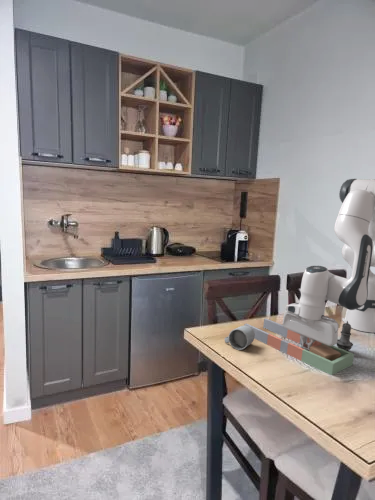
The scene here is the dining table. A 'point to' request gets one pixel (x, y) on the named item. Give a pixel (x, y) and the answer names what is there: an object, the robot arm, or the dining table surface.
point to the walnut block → (325, 352)
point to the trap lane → (299, 352)
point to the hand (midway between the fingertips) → (306, 347)
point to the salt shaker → (345, 338)
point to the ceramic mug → (240, 337)
